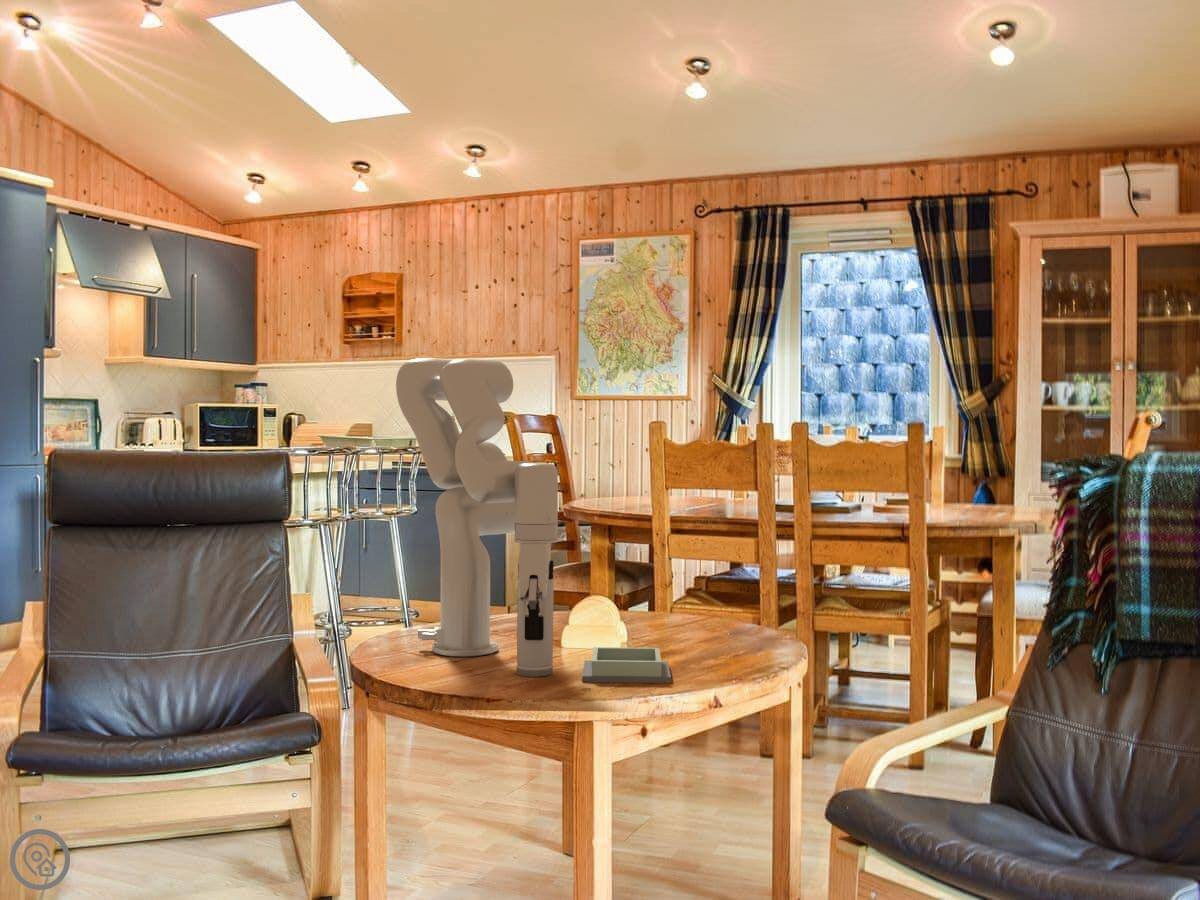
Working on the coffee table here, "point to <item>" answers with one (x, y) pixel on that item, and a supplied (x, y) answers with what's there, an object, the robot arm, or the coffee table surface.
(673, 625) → the coffee table surface
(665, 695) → the coffee table surface
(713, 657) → the coffee table surface
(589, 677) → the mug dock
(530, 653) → the travel mug
